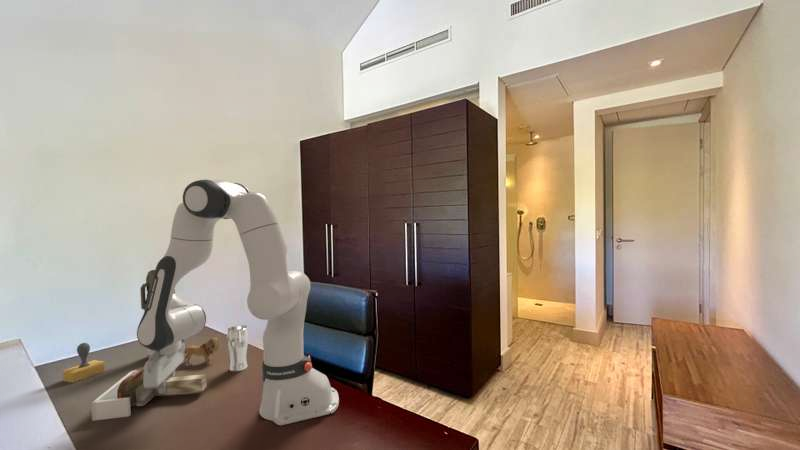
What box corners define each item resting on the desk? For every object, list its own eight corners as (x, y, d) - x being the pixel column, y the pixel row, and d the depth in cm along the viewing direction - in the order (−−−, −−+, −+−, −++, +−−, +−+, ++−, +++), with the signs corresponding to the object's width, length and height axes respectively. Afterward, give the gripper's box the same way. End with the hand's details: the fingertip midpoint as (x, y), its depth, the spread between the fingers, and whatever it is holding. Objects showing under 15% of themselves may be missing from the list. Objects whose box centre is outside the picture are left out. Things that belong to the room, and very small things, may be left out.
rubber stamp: (73, 383, 121) (71, 348, 121) (62, 381, 123) (61, 347, 123) (105, 371, 131) (104, 339, 130) (95, 369, 133) (93, 337, 132)
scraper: (213, 378, 120) (212, 363, 119) (194, 400, 106) (193, 383, 106) (163, 383, 118) (162, 368, 118) (136, 406, 104) (135, 389, 104)
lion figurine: (221, 357, 141) (221, 335, 141) (218, 363, 136) (218, 339, 136) (180, 362, 137) (179, 339, 137) (175, 368, 132) (174, 344, 132)
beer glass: (244, 362, 136) (243, 323, 135) (252, 367, 131) (250, 327, 130) (225, 368, 131) (223, 328, 130) (232, 374, 126) (230, 332, 125)
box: (162, 382, 121) (161, 367, 121) (128, 416, 100) (128, 399, 100) (132, 385, 119) (131, 370, 119) (92, 420, 98) (91, 403, 98)
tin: (127, 412, 102) (125, 383, 102) (115, 413, 102) (113, 384, 102) (157, 387, 117) (156, 362, 117) (147, 387, 117) (146, 362, 117)
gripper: (160, 357, 101) (162, 404, 102) (187, 333, 121) (189, 373, 122) (135, 359, 100) (137, 407, 101) (167, 335, 120) (168, 375, 121)
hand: (166, 388), depth 111 cm, fingers closed on scraper, 3 cm apart
